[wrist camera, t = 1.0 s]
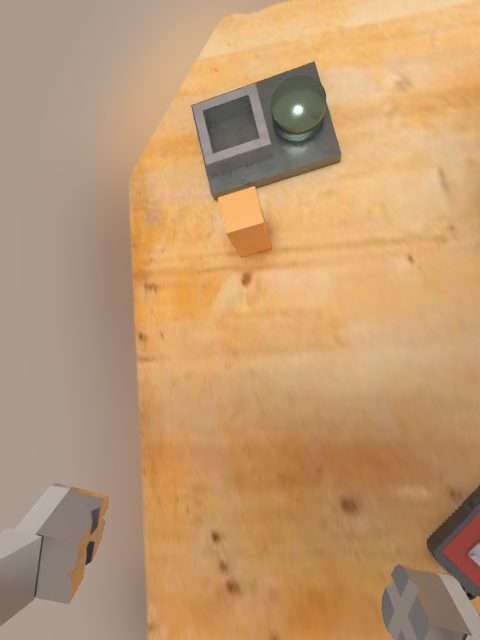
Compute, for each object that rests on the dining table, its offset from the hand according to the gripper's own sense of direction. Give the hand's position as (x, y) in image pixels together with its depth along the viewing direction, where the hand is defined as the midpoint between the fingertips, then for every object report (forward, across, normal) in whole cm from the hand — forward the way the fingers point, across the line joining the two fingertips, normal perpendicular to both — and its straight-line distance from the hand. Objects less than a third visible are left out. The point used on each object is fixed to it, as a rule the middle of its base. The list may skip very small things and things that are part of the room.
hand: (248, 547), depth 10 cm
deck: (+47, +4, -22) cm, 52 cm away
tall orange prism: (+43, +2, -8) cm, 43 cm away
